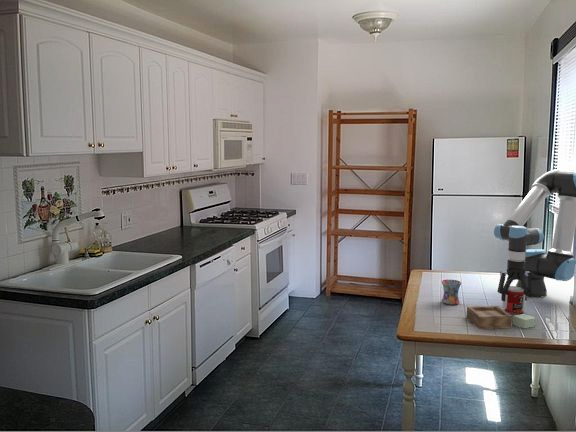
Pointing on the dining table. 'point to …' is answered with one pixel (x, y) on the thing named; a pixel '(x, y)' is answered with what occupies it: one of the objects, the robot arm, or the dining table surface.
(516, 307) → the canned food
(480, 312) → the wooden tray
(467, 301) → the dining table surface
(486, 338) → the dining table surface
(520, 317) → the brick
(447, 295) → the mug
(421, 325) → the dining table surface
